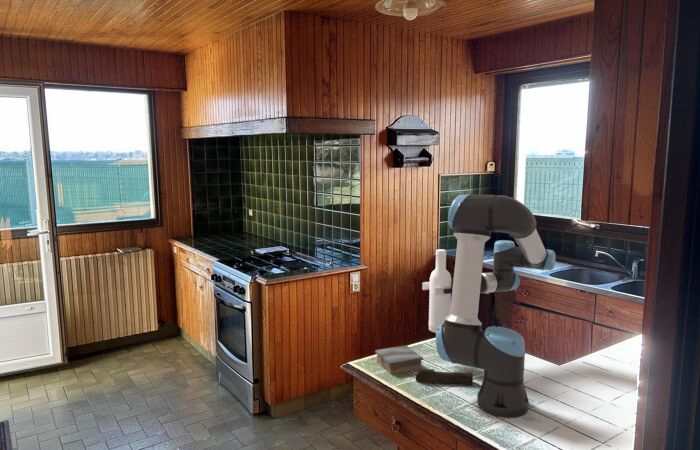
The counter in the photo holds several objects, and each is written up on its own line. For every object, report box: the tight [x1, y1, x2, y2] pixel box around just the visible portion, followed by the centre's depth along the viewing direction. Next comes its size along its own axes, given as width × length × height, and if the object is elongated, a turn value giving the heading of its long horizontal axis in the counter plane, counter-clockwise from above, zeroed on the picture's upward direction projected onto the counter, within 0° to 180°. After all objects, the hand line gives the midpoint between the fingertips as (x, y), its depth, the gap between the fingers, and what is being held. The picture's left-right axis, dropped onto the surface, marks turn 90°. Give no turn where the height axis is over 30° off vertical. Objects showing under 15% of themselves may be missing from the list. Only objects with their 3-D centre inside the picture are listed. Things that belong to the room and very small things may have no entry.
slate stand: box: [374, 345, 424, 375], centre depth 185 cm, size 13×13×4 cm
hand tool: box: [415, 368, 474, 386], centre depth 171 cm, size 19×4×5 cm, turn 82°
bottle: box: [428, 248, 452, 334], centre depth 185 cm, size 8×8×30 cm
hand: (428, 288), depth 183 cm, fingers closed on bottle, 8 cm apart
